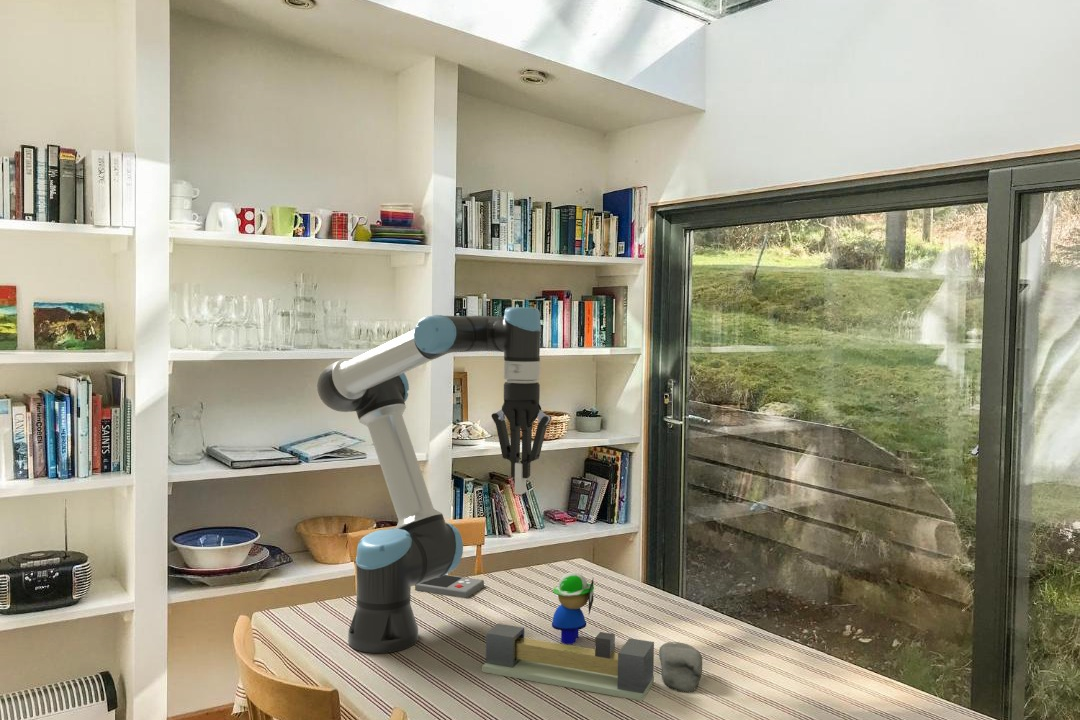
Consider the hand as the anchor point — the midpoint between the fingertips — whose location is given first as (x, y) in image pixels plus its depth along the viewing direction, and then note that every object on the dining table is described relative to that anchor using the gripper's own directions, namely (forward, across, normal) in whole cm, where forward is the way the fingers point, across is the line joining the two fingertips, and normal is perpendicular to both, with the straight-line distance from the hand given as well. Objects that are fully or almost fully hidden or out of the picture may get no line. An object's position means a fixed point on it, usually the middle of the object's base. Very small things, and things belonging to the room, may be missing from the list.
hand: (520, 493), depth 179 cm
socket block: (+33, +27, -7) cm, 44 cm away
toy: (+35, +8, +12) cm, 37 cm away
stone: (+35, +34, +1) cm, 49 cm away
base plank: (+34, +14, -7) cm, 38 cm away
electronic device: (+35, -33, +33) cm, 58 cm away
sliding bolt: (+32, +14, -7) cm, 36 cm away
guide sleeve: (+33, 0, -7) cm, 34 cm away
